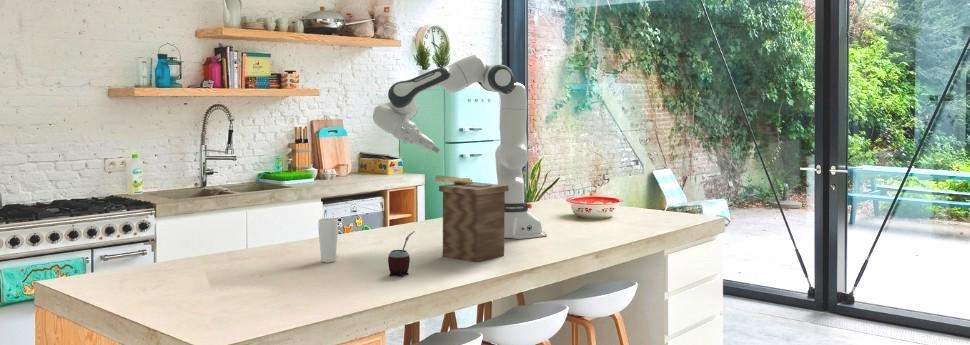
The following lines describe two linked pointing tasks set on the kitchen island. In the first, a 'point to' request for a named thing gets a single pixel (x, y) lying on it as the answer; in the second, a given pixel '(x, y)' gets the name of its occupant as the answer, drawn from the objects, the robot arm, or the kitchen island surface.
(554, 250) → the kitchen island surface
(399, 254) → the mate gourd
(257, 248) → the kitchen island surface
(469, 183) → the brass handle with plate
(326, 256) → the drinking glass
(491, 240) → the lidded wooden box
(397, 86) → the robot arm
